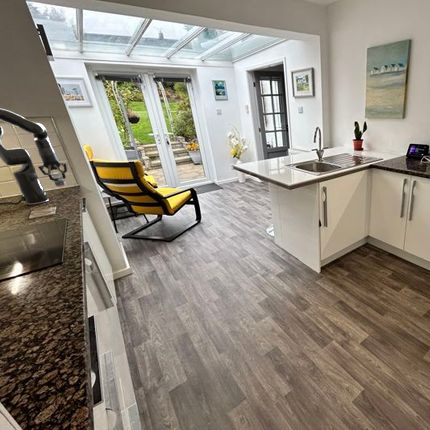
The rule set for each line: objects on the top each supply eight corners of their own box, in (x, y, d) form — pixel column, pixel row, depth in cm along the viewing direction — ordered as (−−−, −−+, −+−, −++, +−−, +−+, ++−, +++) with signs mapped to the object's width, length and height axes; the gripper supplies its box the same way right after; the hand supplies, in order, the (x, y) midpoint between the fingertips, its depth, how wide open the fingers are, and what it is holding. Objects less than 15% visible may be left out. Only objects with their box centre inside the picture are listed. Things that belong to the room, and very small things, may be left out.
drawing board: (32, 211, 148) (31, 210, 148) (56, 207, 154) (55, 206, 154) (29, 219, 137) (28, 218, 137) (55, 214, 143) (54, 213, 143)
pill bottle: (54, 186, 181) (48, 173, 177) (63, 184, 185) (58, 172, 182) (58, 187, 179) (53, 174, 175) (68, 184, 183) (62, 172, 180)
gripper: (62, 152, 181) (72, 176, 187) (33, 155, 172) (45, 180, 179) (61, 153, 175) (72, 178, 182) (31, 156, 167) (43, 182, 173)
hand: (58, 179), depth 180 cm, fingers closed on pill bottle, 5 cm apart
